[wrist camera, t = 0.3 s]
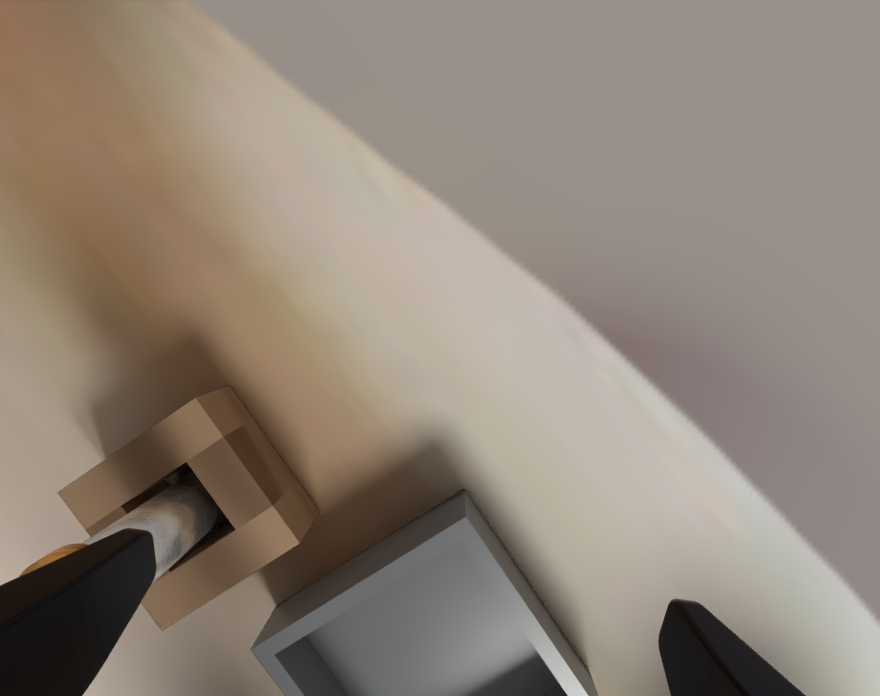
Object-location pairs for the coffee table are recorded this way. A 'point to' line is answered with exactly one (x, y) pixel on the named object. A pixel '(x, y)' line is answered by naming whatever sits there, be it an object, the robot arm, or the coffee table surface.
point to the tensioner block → (225, 478)
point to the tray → (423, 621)
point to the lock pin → (161, 523)
